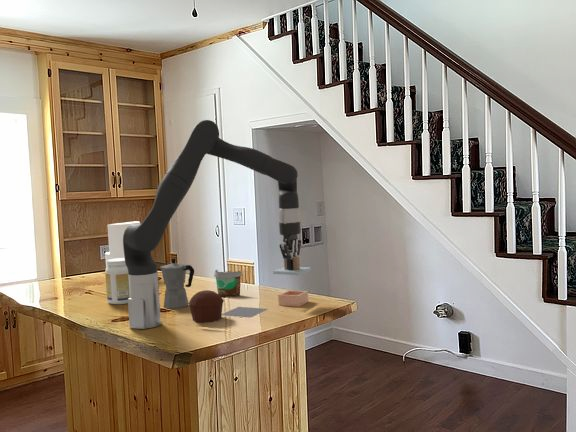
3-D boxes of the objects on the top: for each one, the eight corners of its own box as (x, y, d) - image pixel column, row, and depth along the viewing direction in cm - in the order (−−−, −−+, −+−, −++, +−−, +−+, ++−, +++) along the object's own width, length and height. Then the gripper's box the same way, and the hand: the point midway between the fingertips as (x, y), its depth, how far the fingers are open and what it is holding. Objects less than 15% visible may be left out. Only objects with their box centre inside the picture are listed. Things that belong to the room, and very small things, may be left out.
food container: (208, 296, 220) (207, 272, 220) (217, 293, 226) (216, 269, 225) (234, 298, 215) (233, 273, 214) (243, 295, 220) (241, 270, 219)
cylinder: (151, 277, 274) (147, 221, 272) (123, 284, 259) (119, 224, 257) (126, 275, 283) (123, 221, 281) (99, 281, 268) (95, 224, 266)
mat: (250, 319, 180) (250, 317, 180) (220, 317, 186) (219, 314, 186) (268, 311, 191) (268, 308, 191) (238, 309, 196) (238, 306, 196)
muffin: (182, 322, 181) (181, 292, 181) (210, 315, 189) (208, 286, 188) (204, 328, 173) (202, 296, 172) (232, 320, 180) (230, 290, 180)
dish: (299, 308, 192) (298, 296, 192) (278, 307, 196) (278, 294, 196) (308, 303, 200) (307, 291, 199) (288, 302, 203) (288, 290, 203)
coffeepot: (154, 308, 205) (150, 259, 204) (169, 302, 213) (166, 256, 212) (188, 310, 198) (185, 260, 197) (203, 304, 207) (200, 256, 206)
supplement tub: (145, 298, 223) (142, 256, 222) (128, 305, 212) (125, 261, 211) (118, 298, 227) (115, 257, 226) (101, 304, 215) (97, 261, 214)
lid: (298, 275, 190) (298, 259, 190) (273, 273, 195) (272, 258, 194) (310, 270, 199) (310, 255, 199) (285, 269, 204) (285, 254, 203)
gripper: (288, 219, 204) (291, 265, 205) (271, 222, 191) (273, 272, 193) (307, 219, 200) (309, 266, 202) (290, 222, 188) (293, 273, 189)
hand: (291, 269), depth 197 cm, fingers closed on lid
